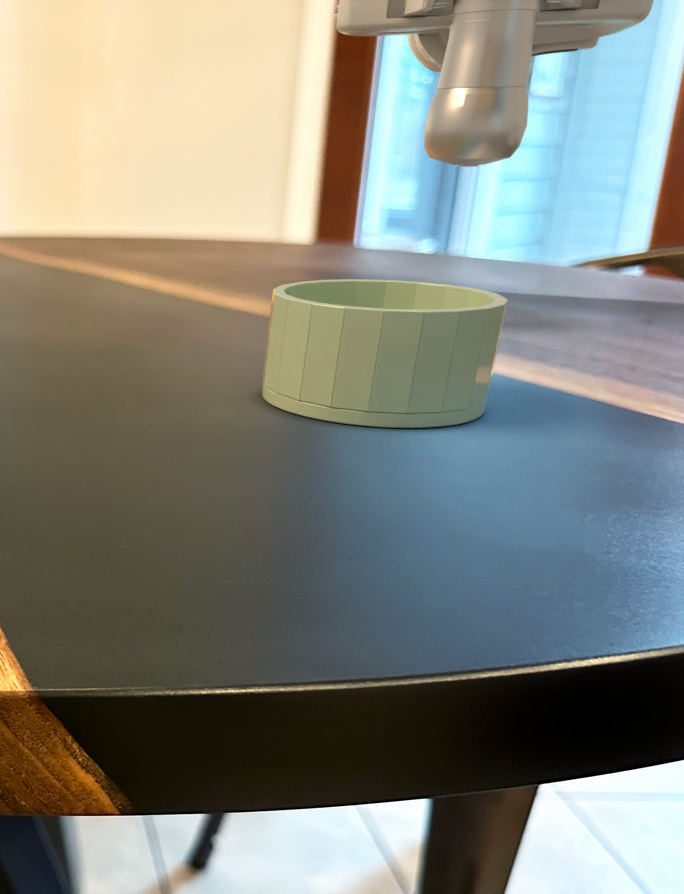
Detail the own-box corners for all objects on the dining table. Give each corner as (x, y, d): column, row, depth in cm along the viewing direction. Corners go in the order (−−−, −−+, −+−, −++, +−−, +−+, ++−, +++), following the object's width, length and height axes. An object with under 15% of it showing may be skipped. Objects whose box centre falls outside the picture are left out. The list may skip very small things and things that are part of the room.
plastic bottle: (523, 164, 73) (590, -170, 65) (514, 168, 68) (586, -195, 60) (425, 164, 76) (478, -155, 68) (410, 167, 71) (465, -178, 63)
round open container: (416, 375, 64) (433, 277, 62) (530, 425, 53) (557, 308, 51) (232, 380, 63) (243, 281, 61) (311, 431, 52) (327, 313, 50)
